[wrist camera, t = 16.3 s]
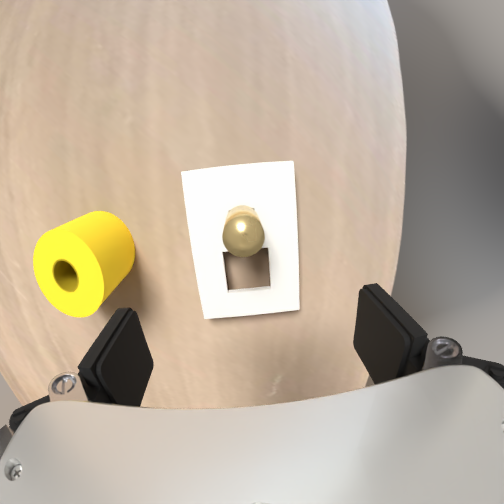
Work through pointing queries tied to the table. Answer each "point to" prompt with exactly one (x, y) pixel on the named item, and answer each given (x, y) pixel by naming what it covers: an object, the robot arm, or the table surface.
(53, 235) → the yellow toilet paper roll
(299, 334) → the table surface
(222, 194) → the keyhole plate
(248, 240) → the brass peg
